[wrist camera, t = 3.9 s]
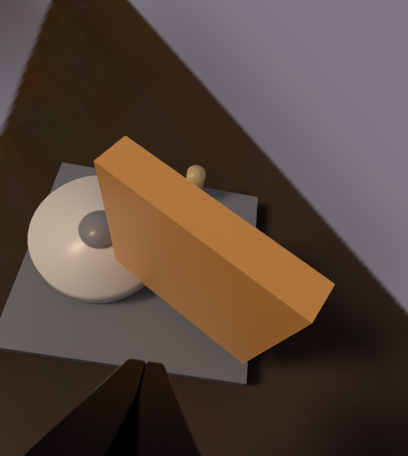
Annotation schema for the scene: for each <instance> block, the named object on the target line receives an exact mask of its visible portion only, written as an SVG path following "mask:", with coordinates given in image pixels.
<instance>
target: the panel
mask: <svg viewBox="0 0 408 456" xmlns="http://www.w3.org/2000/svg"><path fill="white" fill-rule="evenodd" d="M95 175H97V173H96V169H95V168H90V167H85V166H79V165H73V164H68V163H62V165H61V167H60V170H59V172H58V175H57V177H56V180H55V182H54V185H53V187H52V190H51V192H50V194H51V193H52V192H53V191H55V190H56V189H58V188H59V187H61V186H63V185H64V184H66V183H69V182H71V181H73V180H76V179H79V178H83V177H88V176H95ZM205 175H206V172H205V170H204V169H203V168H202V167H200V166H197V165H194V166H191V167H190V168H189V169H188V171H187V177H186V179H187V180H189V181H190V182H192V183H193V184H194V185H196V186H197V187H199V188H200V189H201V190H203V191H204V192H206V193H207V194H209V195H210V196H211V197H213V198H214V199H216V200H217V201H218V202H220V203H221V204H223V205H224V206H225V207H227V208H228V209H230V210H231V211H233V212H234V213H235V214H237V215H238V216H240V217H241V218H242V219H244V220H245V221H247V222H248V223H249V224H251V225H252V226H254V227H255V228H256V216H257V200H258V197H254V196H248V195H242V194H237V193H231V192H225V191H220V190H214V189H209V188H203V184H204V180H205ZM0 350H2V351H8V352H15V353H22V354H29V355H36V356H43V357H49V358H56V359H63V360H70V361H77V362H83V363H90V364H97V365H104V366H111V367H117V368H119V367H120V366H121V365H122V364H123V363H124V362H125V361H126V360H127V359H138V360H144V361H145V365H146V363H147V362H148V361H151V362H158V363H163V364H164V366H165V368H166V371H167V373H168V375H172V376H179V377H185V378H192V379H199V380H206V381H213V382H219V383H226V384H233V385H240V386H242V385H245V384H246V382H247V366H248V361H247V362H245V363H244V364H242V363H241V362H240V361H239V360H238V359H236V358H235V357H234V356H233V355H231V354H230V353H229V352H228V351H226V350H225V349H224V348H223V347H221V346H220V345H219V344H218V343H216V342H215V341H214V340H213V339H211V338H210V337H209V336H208V335H206V334H205V333H204V332H203V331H201V330H200V329H199V328H198V327H196V326H195V325H194V324H193V323H191V322H190V321H189V320H188V319H187V318H185V317H184V316H183V315H182V314H180V313H179V312H178V311H177V310H175V309H174V308H173V307H172V306H170V305H169V304H168V303H167V302H165V301H164V300H163V299H162V298H160V297H159V296H158V295H157V294H155V293H154V292H153V291H152V290H150V289H149V288H148V287H147V286H145V287H143V288H142V289H141V290H139V291H138V292H136V293H134V294H132V295H131V296H128V297H126V298H124V299H121V300H117V301H114V302H108V303H85V302H80V301H76V300H73V299H70V298H68V297H66V296H64V295H62V294H60V293H59V292H57V291H56V290H55V289H53V288H52V287H51V286H50V285H49V284H48V283H47V282H46V280H45V279H44V278H43V276H42V275H41V274H40V272H39V271H38V270H37V268H36V267H35V265H34V263H33V261H32V259H31V256H30V253H29V248H28V250H27V253H26V255H25V258H24V260H23V263H22V265H21V268H20V270H19V273H18V275H17V278H16V280H15V283H14V285H13V288H12V290H11V293H10V295H9V298H8V300H7V303H6V305H5V308H4V310H3V313H2V315H1V318H0Z"/></svg>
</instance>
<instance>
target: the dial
mask: <svg viewBox="0 0 408 456" xmlns="http://www.w3.org/2000/svg"><path fill="white" fill-rule="evenodd" d="M94 164H95V169H96V173H97V175H95V176H88V177H83V178H79V179H76V180H73V181H71V182H69V183H66V184H64V185H63V186H61V187H59V188H58V189H56V190H55V191H53V192H52V193H51V194H50V195H49V196H48V197H46V198H45V200H44V201H43V202H42V203H41V204H40V206H39V207H38V209H37V210H36V212H35V214H34V216H33V218H32V220H31V223H30V226H29V232H28V248H29V253H30V256H31V259H32V261H33V263H34V265H35V267H36V268H37V270H38V271H39V272H40V274H41V275H42V276H43V278H44V279H45V280H46V282H47V283H48V284H49V285H50V286H51V287H52V288H53V289H55V290H56V291H57V292H59V293H60V294H62V295H64V296H66V297H68V298H70V299H73V300H76V301H80V302H85V303H108V302H114V301H117V300H121V299H124V298H126V297H128V296H131V295H132V294H134V293H136V292H138V291H139V290H141V289H142V288H143V287H145V286H147V287H148V288H149V289H150V290H152V291H153V292H154V293H155V294H157V295H158V296H159V297H160V298H162V299H163V300H164V301H165V302H167V303H168V304H169V305H170V306H172V307H173V308H174V309H175V310H177V311H178V312H179V313H180V314H182V315H183V316H184V317H185V318H187V319H188V320H189V321H190V322H191V323H193V324H194V325H195V326H196V327H198V328H199V329H200V330H201V331H203V332H204V333H205V334H206V335H208V336H209V337H210V338H211V339H213V340H214V341H215V342H216V343H218V344H219V345H220V346H221V347H223V348H224V349H225V350H226V351H228V352H229V353H230V354H231V355H233V356H234V357H235V358H236V359H238V360H239V361H240V362H241V363H242V364H244V363H245V362H247V361H249V360H250V359H252V358H254V357H256V356H257V355H259V354H261V353H262V352H264V351H266V350H267V349H269V348H271V347H273V346H274V345H276V344H278V343H279V342H281V341H283V340H284V339H286V338H288V337H290V336H291V335H293V334H295V333H296V332H298V331H300V330H301V329H303V328H305V327H307V326H308V325H310V324H312V323H313V321H314V319H315V317H316V316H317V314H318V312H319V311H320V309H321V307H322V306H323V304H324V302H325V300H326V299H327V297H328V295H329V294H330V292H331V290H332V289H333V287H334V285H335V284H334V283H333V282H331V281H330V280H328V279H327V278H326V277H324V276H323V275H321V274H320V273H319V272H317V271H316V270H314V269H313V268H312V267H310V266H309V265H307V264H306V263H304V262H303V261H302V260H300V259H299V258H297V257H296V256H295V255H293V254H292V253H290V252H289V251H288V250H286V249H285V248H283V247H282V246H280V245H279V244H278V243H276V242H275V241H273V240H272V239H271V238H269V237H268V236H266V235H265V234H264V233H262V232H261V231H259V230H258V229H257V228H255V227H254V226H252V225H251V224H249V223H248V222H247V221H245V220H244V219H242V218H241V217H240V216H238V215H237V214H235V213H234V212H233V211H231V210H230V209H228V208H227V207H225V206H224V205H223V204H221V203H220V202H218V201H217V200H216V199H214V198H213V197H211V196H210V195H209V194H207V193H206V192H204V191H203V190H201V189H200V188H199V187H197V186H196V185H194V184H193V183H192V182H190V181H189V180H187V179H186V178H185V177H183V176H182V175H180V174H179V173H177V172H176V171H175V170H173V169H172V168H170V167H169V166H168V165H166V164H165V163H163V162H162V161H161V160H159V159H158V158H156V157H155V156H153V155H152V154H151V153H149V152H148V151H146V150H145V149H144V148H142V147H141V146H139V145H138V144H137V143H135V142H134V141H132V140H131V139H129V138H128V137H127V136H124V137H123V138H122V139H121V140H119V141H118V142H117V143H116V144H114V145H113V146H112V147H111V148H109V149H108V150H107V151H106V152H104V153H103V154H102V155H101V156H99V157H98V158H97V159H96V160H94Z"/></svg>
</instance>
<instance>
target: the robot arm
mask: <svg viewBox="0 0 408 456" xmlns="http://www.w3.org/2000/svg"><path fill="white" fill-rule="evenodd" d="M128 455H129V456H201V454H200V452H199V450H198V447H197V445H196V442H195V440H194V437H193V435H192V432H191V430H190V427H189V425H188V422H187V420H186V417H185V415H184V413H183V410H182V408H181V405H180V403H179V400H178V398H177V395H176V393H175V390H174V388H173V385H172V383H171V380H170V378H169V376H168V373H167V371H166V368H165V366H164V364H163V363H158V362H151V361H148V362H147V363H146V365H145V361H144V360H138V359H127V360H126V361H125V362H124V363H123V364H122V365H121V366H120V367H119V368H118V369H117V370H116V371H114V372H113V373H112V374H111V375H110V376H109V377H108V378H107V379H106V380H105V381H104V382H103V383H101V384H100V385H99V386H98V387H97V388H96V389H95V390H94V391H93V392H92V393H91V394H90V395H89V396H87V397H86V398H85V399H84V400H83V401H82V402H81V403H80V404H79V405H78V406H77V407H76V408H74V409H73V410H72V411H71V412H70V413H69V414H68V415H67V416H66V417H65V418H64V419H63V420H62V421H60V422H59V423H58V424H57V425H56V426H55V427H54V428H53V429H52V430H51V431H50V432H49V433H47V434H46V435H45V436H44V437H43V438H42V439H41V440H40V441H39V442H38V443H37V444H36V445H35V446H33V447H32V448H31V449H30V450H29V451H28V452H27V453H26V454H25V455H24V456H128Z"/></svg>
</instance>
